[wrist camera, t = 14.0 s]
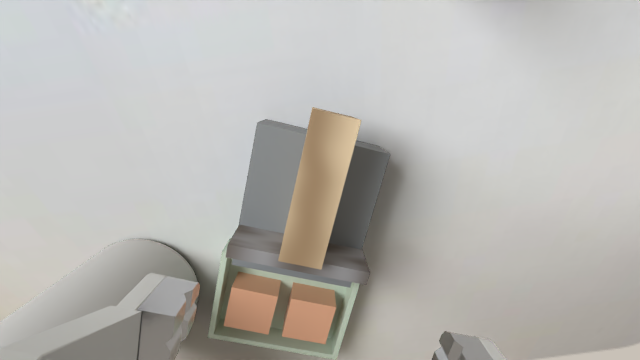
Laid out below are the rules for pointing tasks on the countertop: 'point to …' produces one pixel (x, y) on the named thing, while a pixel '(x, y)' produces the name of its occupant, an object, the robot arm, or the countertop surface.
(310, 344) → the tray
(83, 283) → the cylinder vase
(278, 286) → the orange block
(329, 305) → the peach block
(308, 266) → the grey and tan blocks
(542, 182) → the countertop surface
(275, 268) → the board
